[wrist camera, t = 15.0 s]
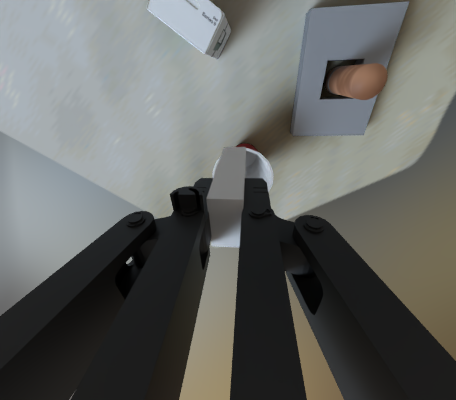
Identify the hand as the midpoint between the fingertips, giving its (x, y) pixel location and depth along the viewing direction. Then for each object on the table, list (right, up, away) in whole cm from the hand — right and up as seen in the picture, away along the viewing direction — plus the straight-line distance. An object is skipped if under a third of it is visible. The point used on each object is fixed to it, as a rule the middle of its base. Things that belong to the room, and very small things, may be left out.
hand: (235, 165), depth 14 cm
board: (+18, +19, +21) cm, 34 cm away
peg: (+18, +19, +21) cm, 34 cm away
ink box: (-5, +26, +19) cm, 33 cm away
